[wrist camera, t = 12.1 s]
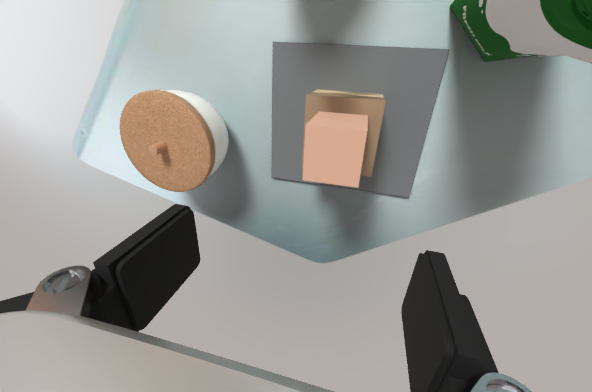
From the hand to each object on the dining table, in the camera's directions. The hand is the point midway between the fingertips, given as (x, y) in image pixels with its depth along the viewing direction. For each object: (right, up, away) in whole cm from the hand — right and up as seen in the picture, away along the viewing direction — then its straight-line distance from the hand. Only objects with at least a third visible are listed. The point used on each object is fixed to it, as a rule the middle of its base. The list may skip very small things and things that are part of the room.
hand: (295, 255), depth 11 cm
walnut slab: (+6, +10, +21) cm, 24 cm away
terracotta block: (+5, +9, +18) cm, 20 cm away
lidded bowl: (-14, +13, +30) cm, 35 cm away
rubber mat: (+6, +12, +24) cm, 28 cm away
